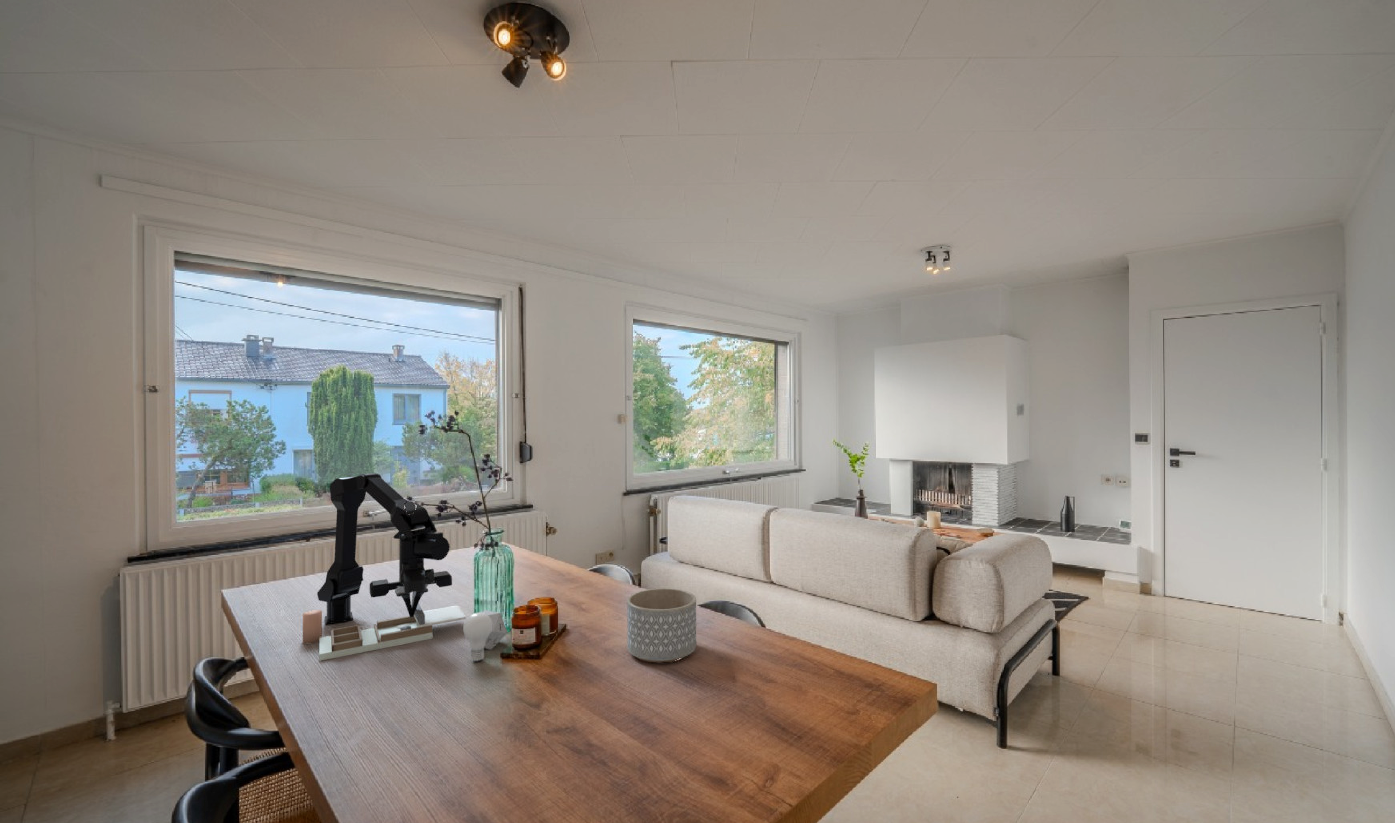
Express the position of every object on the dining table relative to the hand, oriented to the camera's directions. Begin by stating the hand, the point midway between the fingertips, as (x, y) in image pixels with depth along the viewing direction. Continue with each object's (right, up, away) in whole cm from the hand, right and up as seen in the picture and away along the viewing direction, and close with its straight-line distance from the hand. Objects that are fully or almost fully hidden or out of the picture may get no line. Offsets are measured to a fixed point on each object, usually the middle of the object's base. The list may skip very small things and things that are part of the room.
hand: (411, 616), depth 148 cm
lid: (+6, -1, +4) cm, 7 cm away
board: (-7, -5, -4) cm, 9 cm away
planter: (+66, -5, -11) cm, 67 cm away
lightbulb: (+23, -5, -16) cm, 29 cm away
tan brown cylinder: (-23, -5, -4) cm, 24 cm away
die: (+22, -5, -7) cm, 24 cm away
